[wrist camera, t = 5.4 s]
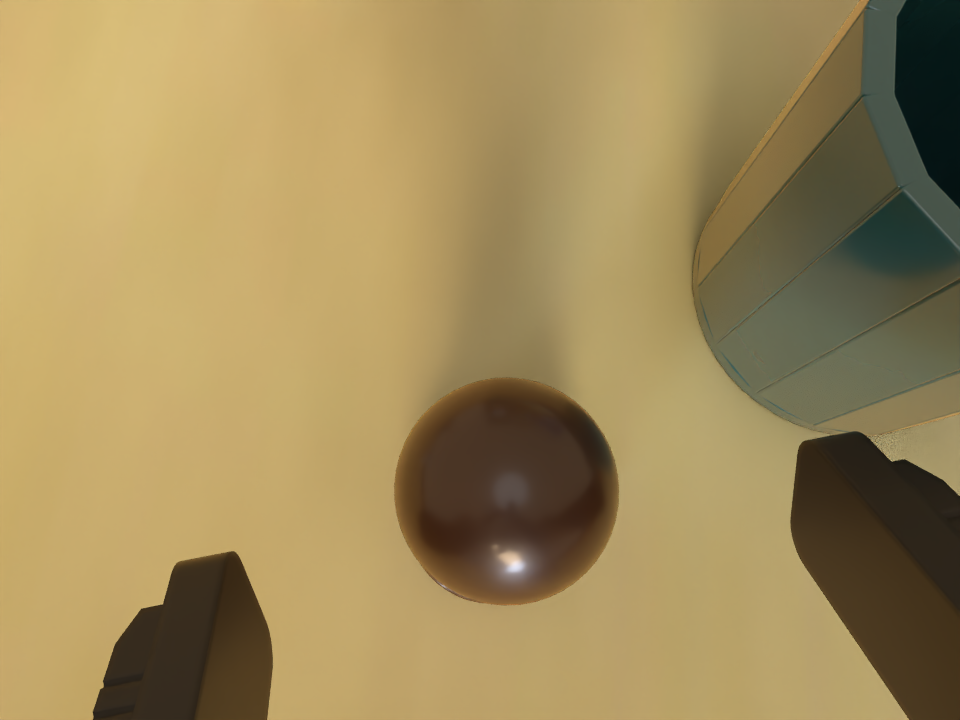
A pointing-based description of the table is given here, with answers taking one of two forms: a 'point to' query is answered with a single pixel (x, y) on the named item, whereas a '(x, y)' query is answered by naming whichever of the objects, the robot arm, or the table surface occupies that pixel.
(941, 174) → the cup
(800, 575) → the table surface
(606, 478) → the game pawn
